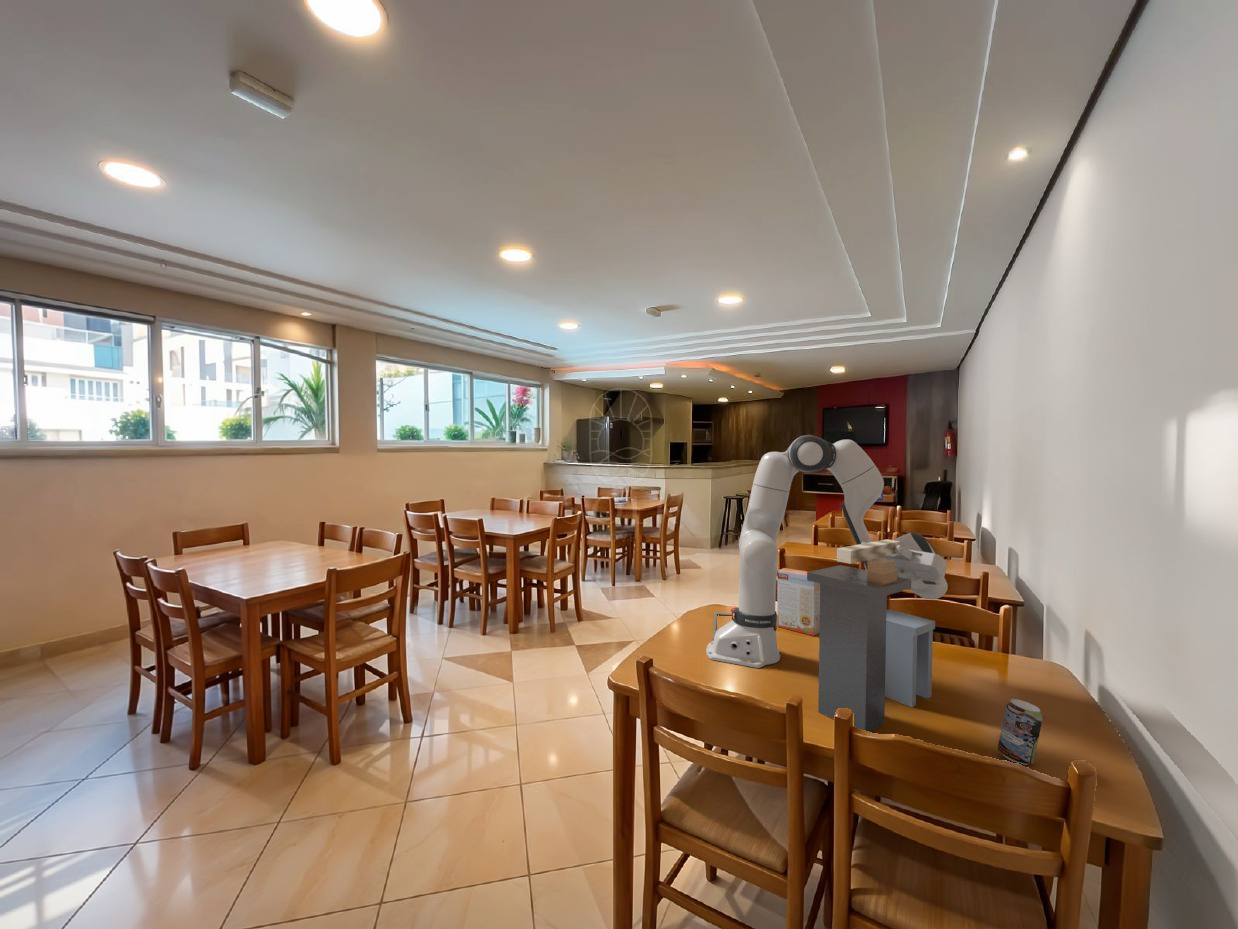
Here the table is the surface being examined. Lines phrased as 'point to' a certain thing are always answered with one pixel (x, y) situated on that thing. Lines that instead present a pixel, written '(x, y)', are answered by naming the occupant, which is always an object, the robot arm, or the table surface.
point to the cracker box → (798, 602)
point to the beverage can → (1020, 731)
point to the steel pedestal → (855, 638)
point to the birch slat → (866, 551)
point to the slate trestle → (908, 657)
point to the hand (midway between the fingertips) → (885, 545)
